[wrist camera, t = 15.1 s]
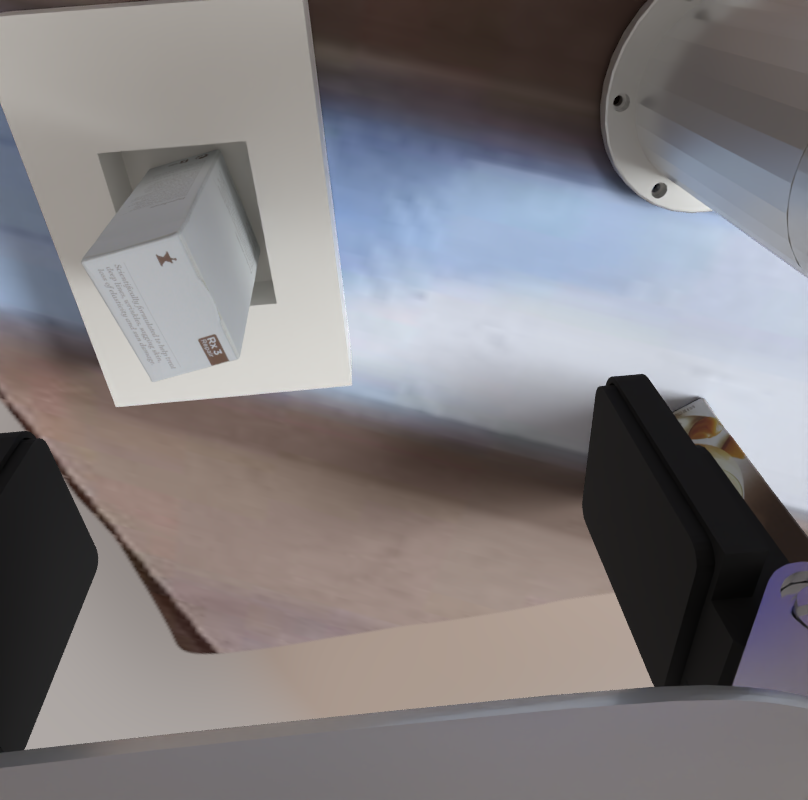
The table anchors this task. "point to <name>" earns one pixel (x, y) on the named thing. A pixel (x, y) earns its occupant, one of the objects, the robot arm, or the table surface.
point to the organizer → (178, 139)
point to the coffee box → (744, 478)
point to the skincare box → (179, 267)
